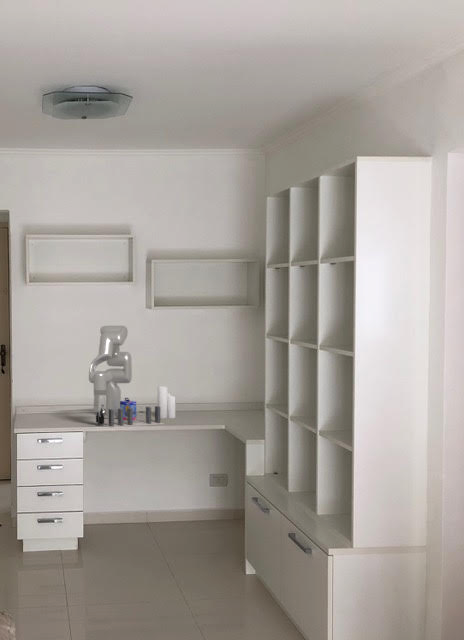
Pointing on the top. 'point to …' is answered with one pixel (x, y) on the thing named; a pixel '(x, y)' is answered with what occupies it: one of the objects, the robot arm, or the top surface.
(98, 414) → the domino
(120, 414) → the domino
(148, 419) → the domino
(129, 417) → the domino
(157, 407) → the domino
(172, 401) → the white tube cluster
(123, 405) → the ink cartridge box
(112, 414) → the domino
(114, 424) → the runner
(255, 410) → the top surface
